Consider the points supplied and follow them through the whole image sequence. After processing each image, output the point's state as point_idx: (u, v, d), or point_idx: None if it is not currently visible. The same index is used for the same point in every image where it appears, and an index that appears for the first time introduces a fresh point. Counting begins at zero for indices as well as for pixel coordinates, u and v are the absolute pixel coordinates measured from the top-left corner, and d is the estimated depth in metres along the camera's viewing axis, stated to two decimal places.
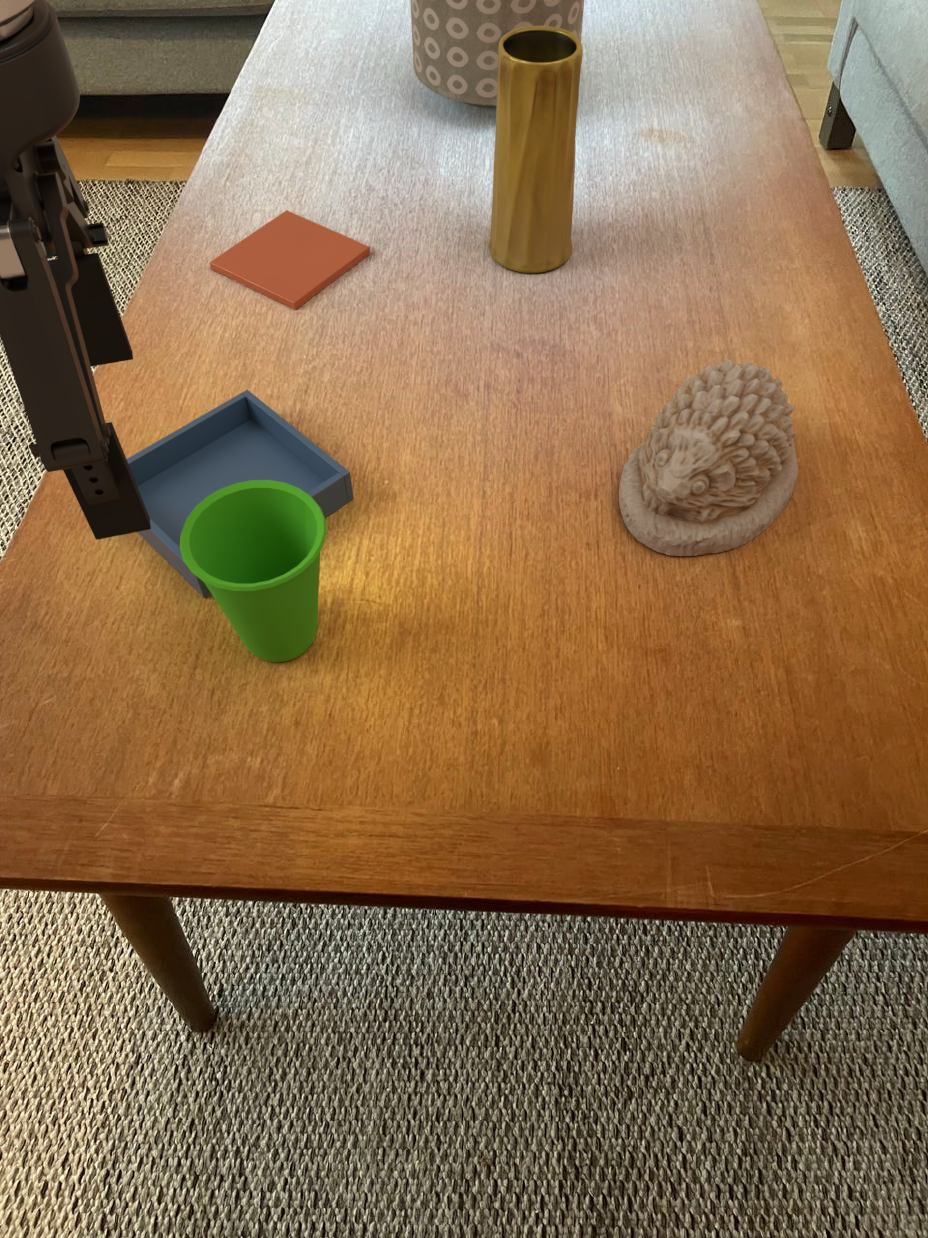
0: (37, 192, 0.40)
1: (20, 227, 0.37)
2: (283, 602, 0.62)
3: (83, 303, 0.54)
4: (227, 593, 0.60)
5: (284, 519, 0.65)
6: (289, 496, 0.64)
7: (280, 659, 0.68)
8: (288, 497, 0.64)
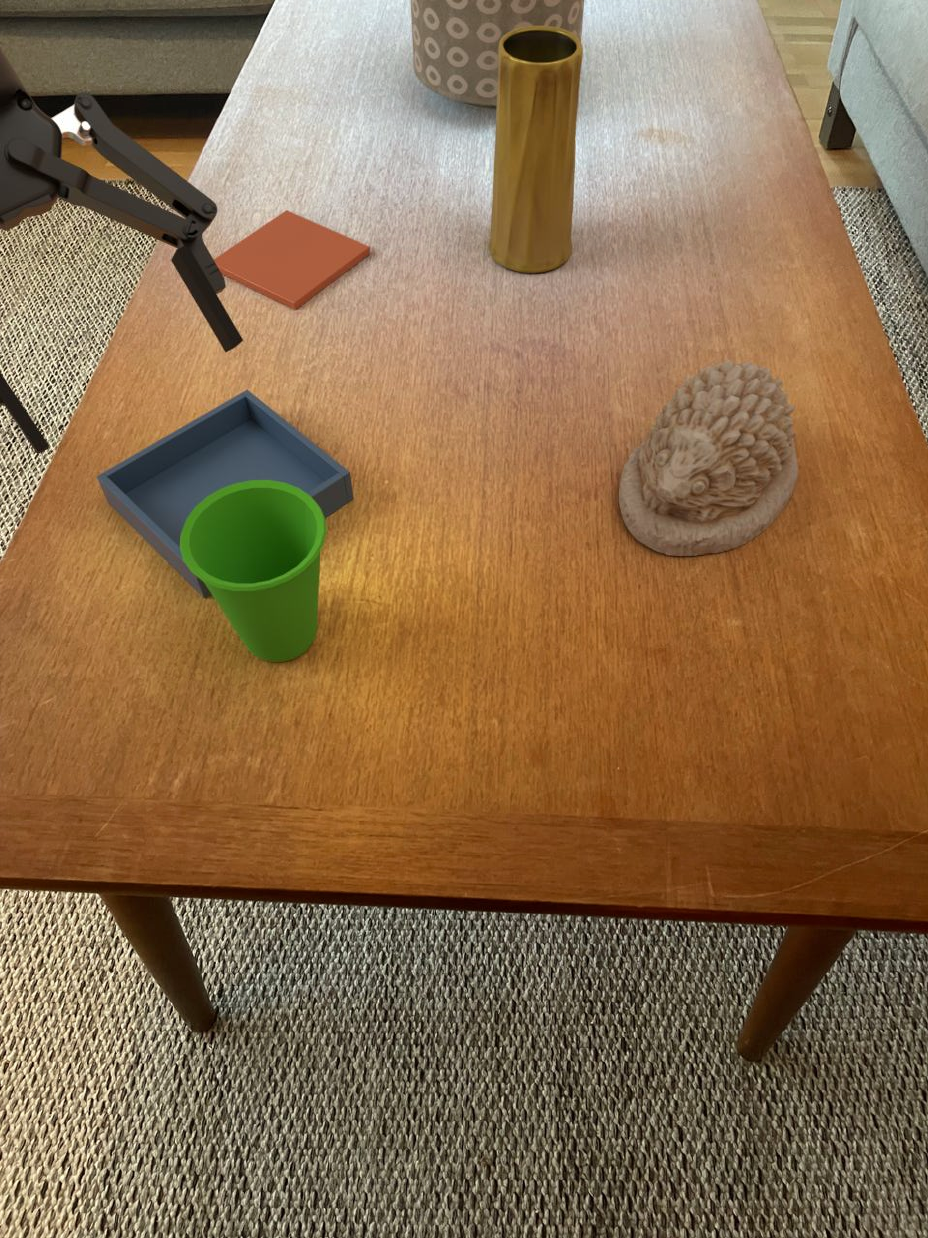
0: None
1: None
2: (283, 602, 0.62)
3: None
4: (227, 593, 0.60)
5: (284, 519, 0.65)
6: (289, 496, 0.64)
7: (280, 659, 0.68)
8: (288, 497, 0.64)
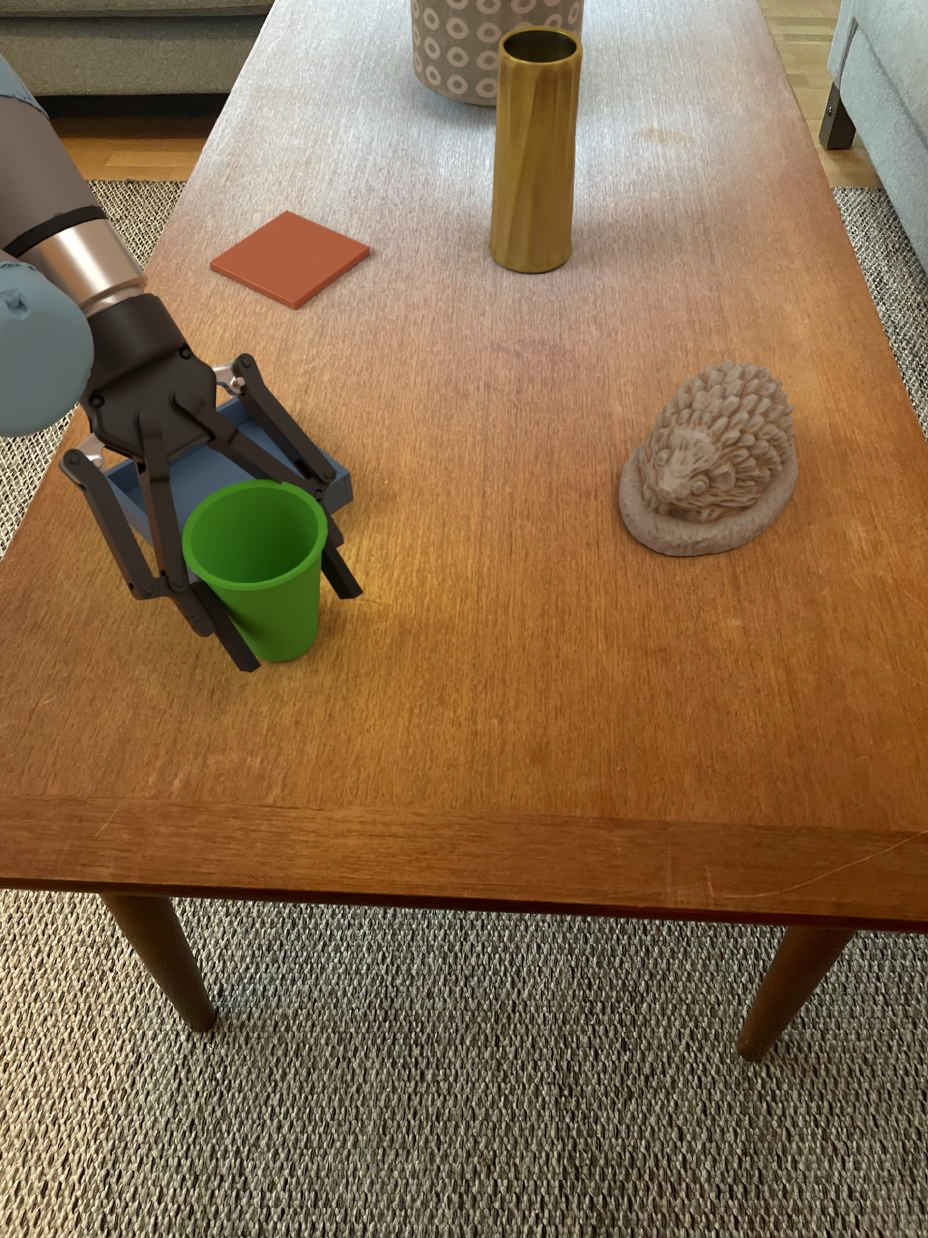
0: None
1: None
2: (284, 602, 0.62)
3: None
4: (228, 592, 0.60)
5: (285, 519, 0.65)
6: (290, 496, 0.64)
7: (281, 659, 0.68)
8: (289, 497, 0.64)
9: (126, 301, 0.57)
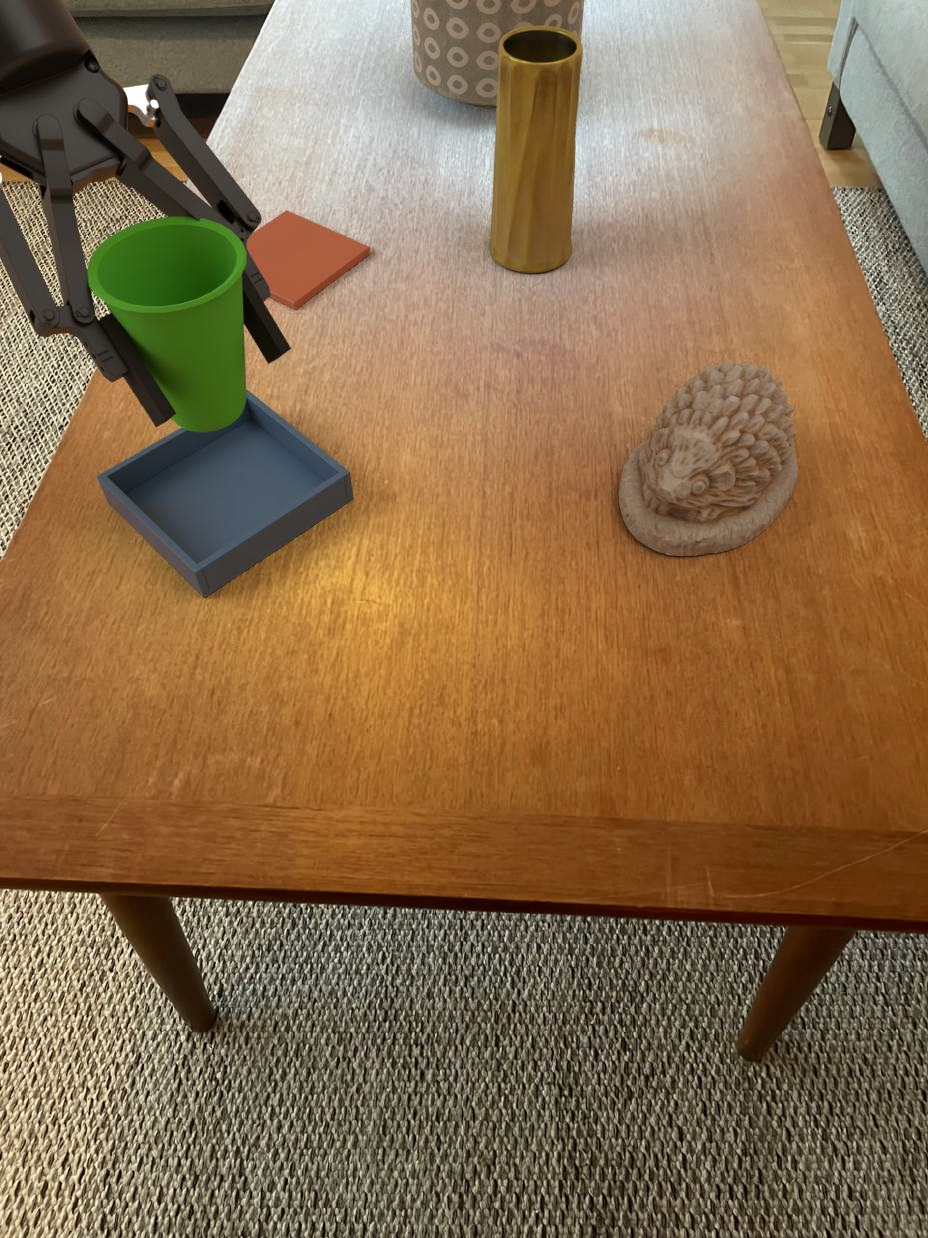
0: None
1: None
2: (199, 339, 0.57)
3: None
4: (136, 322, 0.55)
5: (206, 265, 0.61)
6: (209, 234, 0.59)
7: (204, 426, 0.63)
8: (209, 235, 0.59)
9: None
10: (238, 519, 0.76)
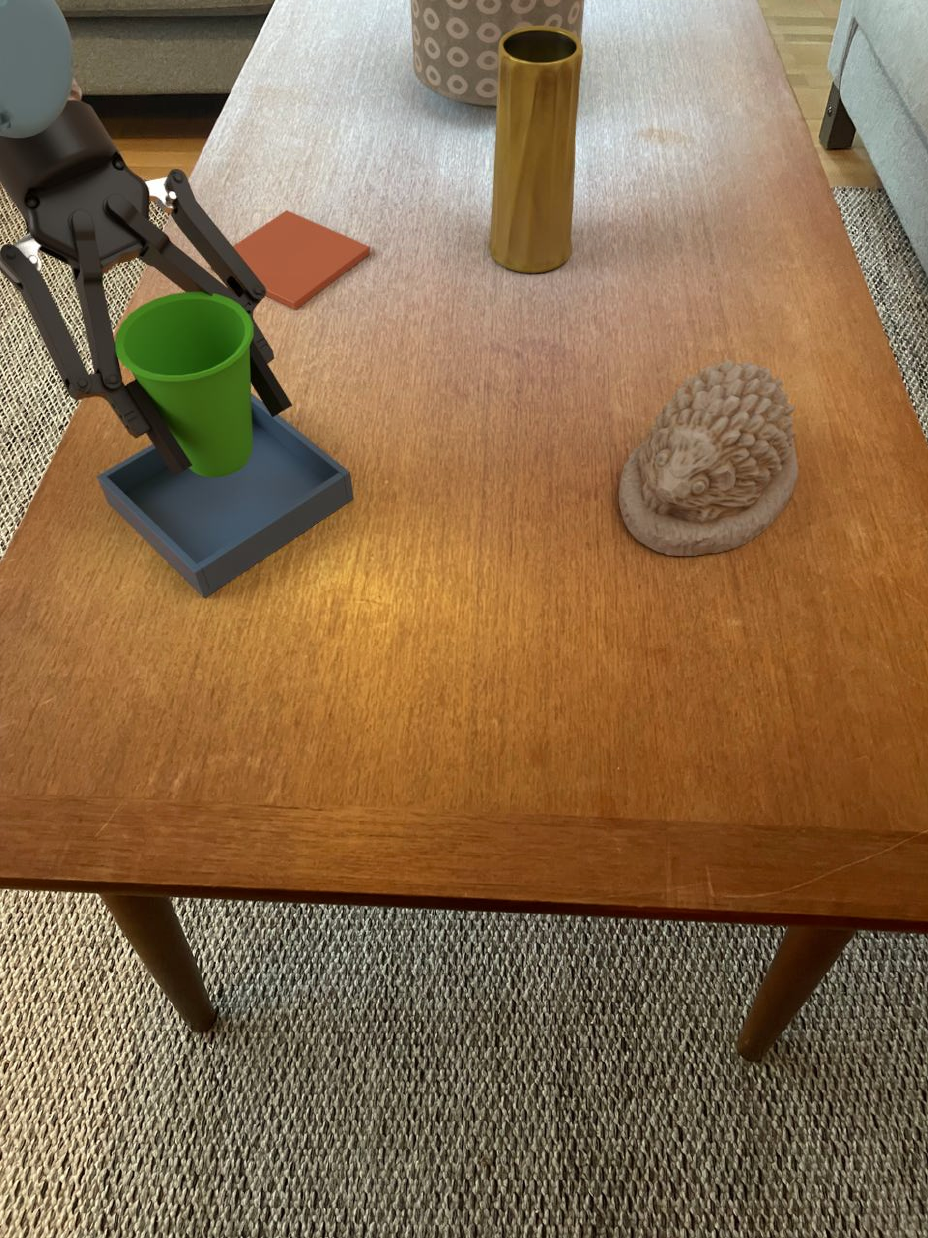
0: None
1: None
2: (213, 401, 0.65)
3: None
4: (158, 388, 0.64)
5: (218, 333, 0.69)
6: (220, 307, 0.67)
7: (216, 473, 0.72)
8: (220, 308, 0.67)
9: None
10: (238, 519, 0.76)
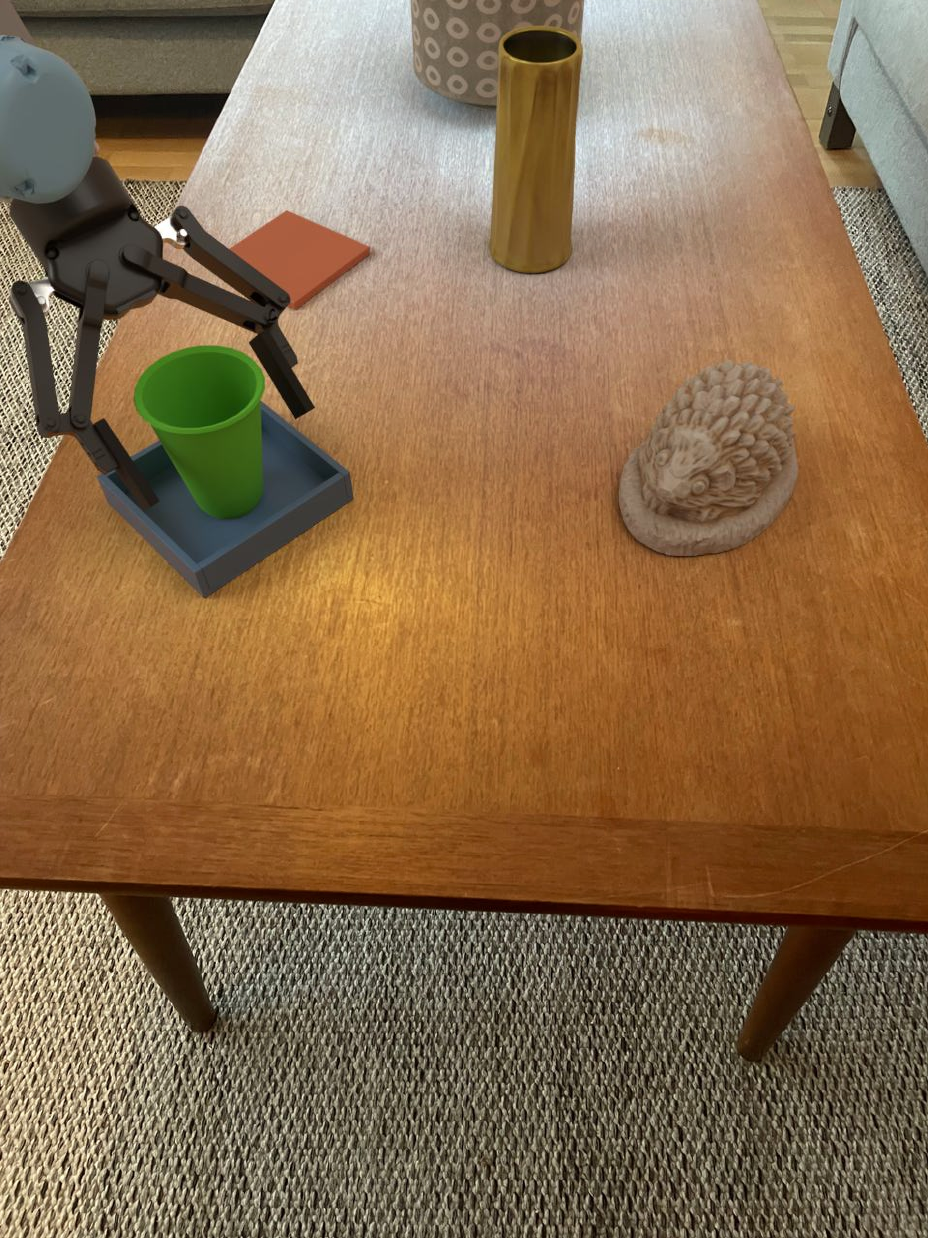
0: None
1: None
2: (226, 450, 0.69)
3: None
4: (175, 439, 0.67)
5: (230, 383, 0.73)
6: (233, 360, 0.71)
7: (228, 515, 0.75)
8: (233, 361, 0.71)
9: None
10: (238, 519, 0.76)
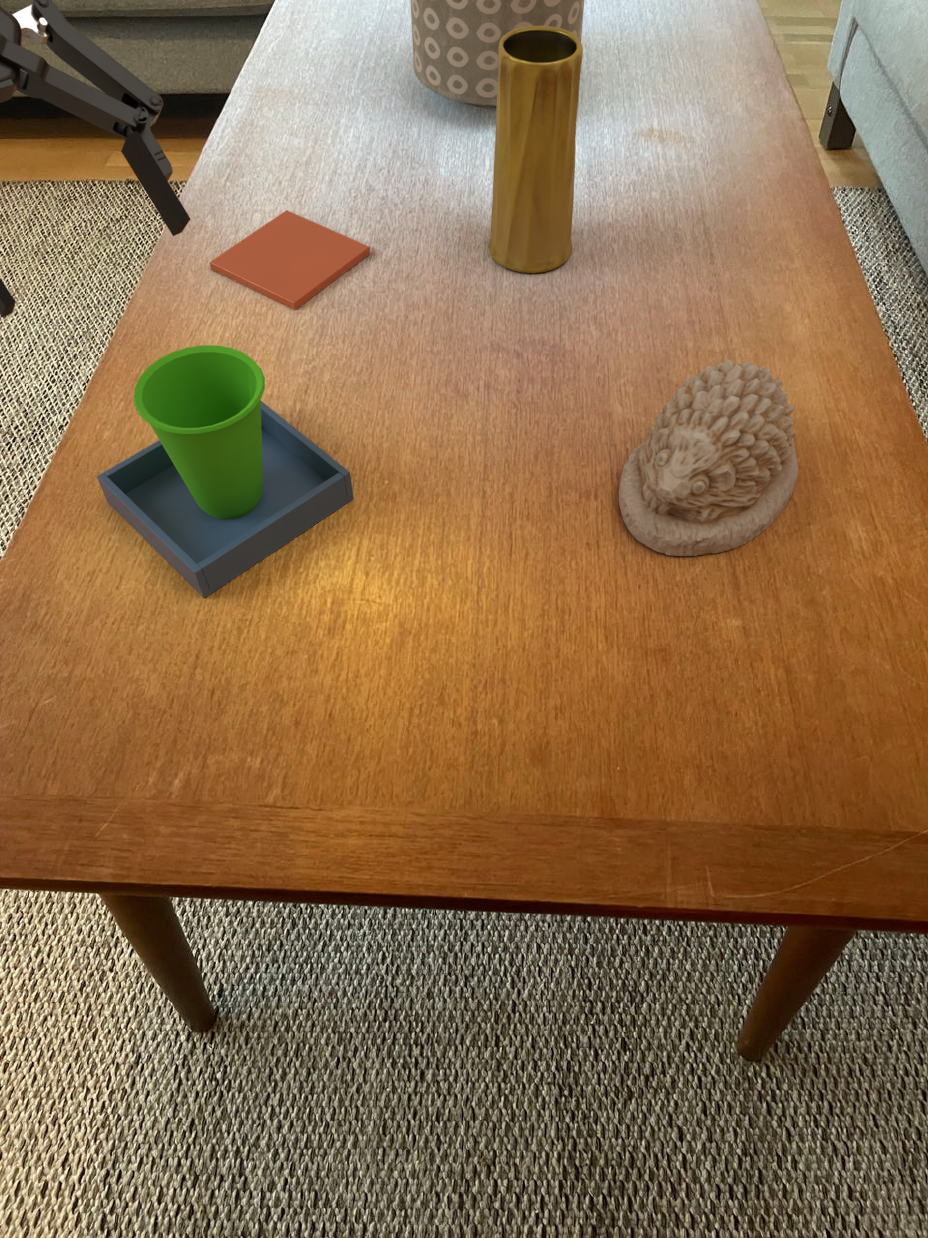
0: None
1: None
2: (226, 450, 0.69)
3: None
4: (175, 439, 0.67)
5: (230, 383, 0.73)
6: (233, 360, 0.71)
7: (228, 515, 0.75)
8: (233, 361, 0.71)
9: None
10: (238, 519, 0.76)
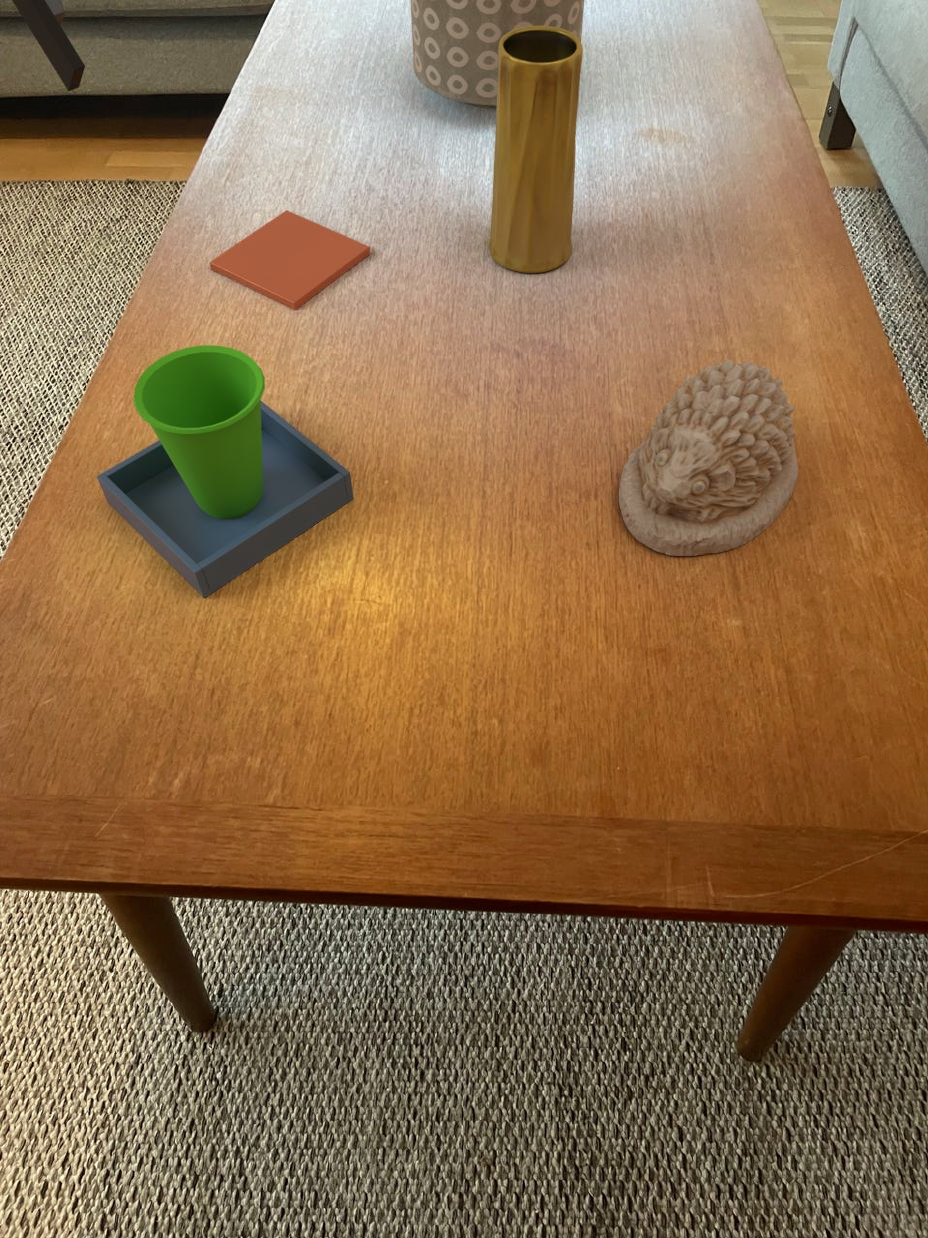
0: None
1: None
2: (226, 450, 0.69)
3: None
4: (175, 439, 0.67)
5: (230, 383, 0.73)
6: (233, 360, 0.71)
7: (228, 515, 0.75)
8: (233, 361, 0.71)
9: None
10: (238, 519, 0.76)
